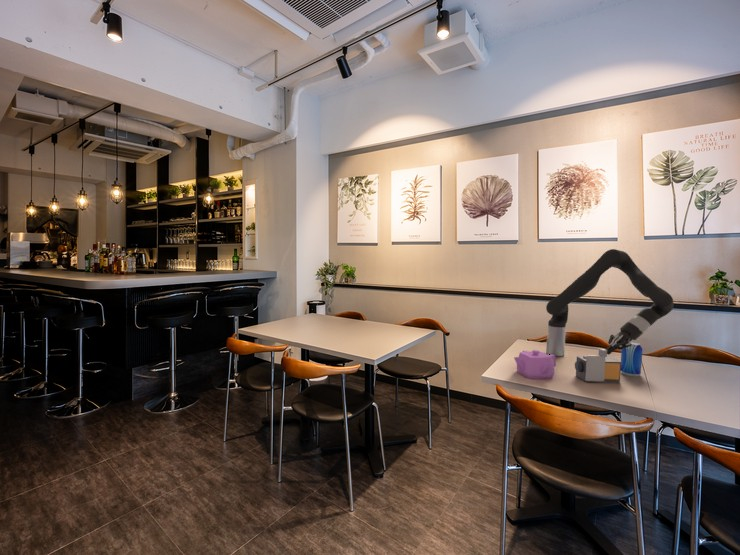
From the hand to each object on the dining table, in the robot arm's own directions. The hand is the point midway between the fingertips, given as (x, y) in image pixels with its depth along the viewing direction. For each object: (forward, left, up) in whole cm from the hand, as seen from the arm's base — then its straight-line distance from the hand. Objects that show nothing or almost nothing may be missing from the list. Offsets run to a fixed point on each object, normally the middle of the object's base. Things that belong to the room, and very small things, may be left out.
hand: (606, 352), depth 164 cm
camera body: (-3, +4, -14) cm, 15 cm away
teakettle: (-28, -9, -15) cm, 33 cm away
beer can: (+9, +24, -15) cm, 29 cm away
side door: (-4, -3, -13) cm, 14 cm away
